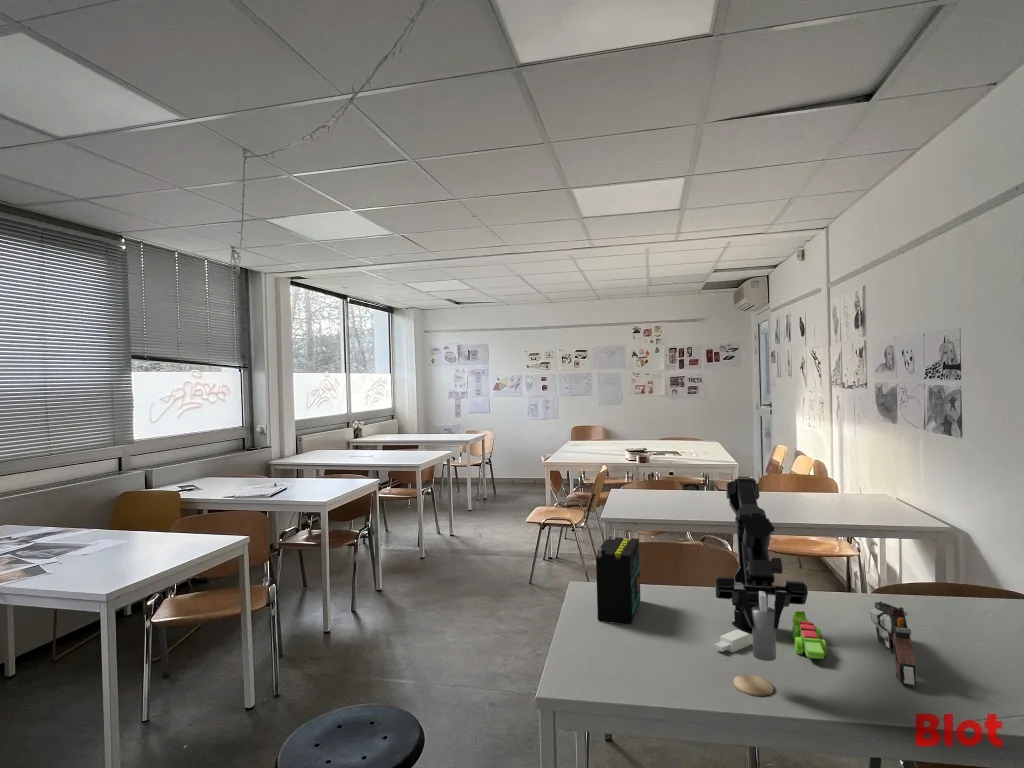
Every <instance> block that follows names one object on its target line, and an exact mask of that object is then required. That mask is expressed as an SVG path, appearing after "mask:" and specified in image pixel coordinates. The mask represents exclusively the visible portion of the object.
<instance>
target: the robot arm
mask: <svg viewBox="0 0 1024 768" xmlns="http://www.w3.org/2000/svg"><path fill="white" fill-rule="evenodd" d="M725 489H726V491H725V492H726V493H725V495H726V499H729V500H728V501H729V507H730V509H731V510H732V511H733V513H735V517H734V525H735V526H734V527H735V532H736V536H737V537H736V538H737V553H738V554H737V557H738V569H737V571H736V572H735V574H734V575H733V576H732V577H731V576H717V577H716V578H715V598H717V599H723V600H731V604H732V606H734V611H733V613H734V621H732V622H731V625H733V626H735V627H737V629H738V628H739V630H741V631H743V632H746V633H752V628H753V621H752V607H754V606H759V591H765V594H766V597H767V607H769V606H768V605H769V604H768V603H769V602H768V599H769V596H774V608H773V609H774V610H775V631H778V630H779V629H778V628H779V624H780V619H781V615H782V613H783V610H784V608H788V607H789V606H790V604H791V605H805V604H806V602H807V598H808V594H809V591H808V586H807V584H806V583H805V582H804V581H797V580H794V581H793V580H786V582H785V586H782V585H780V586H779V585H778V586H777V585H773V584H774V583H775V574H776V575H781V574H782V573H783V563H782V558H780V557H772V558H771V560H770V554H769V547H770V544H771V537H772V534H773V532H775V526H774V524H773V523H772V522H771V521H770V519H769V517H768V518H767V515H766V512H765V510H764V509H763V508H761V507H759V505H758V500H759V498H760V486H759V483H758V482H756V481H755V479H754V478H751V477H748V478H747V477H743V478H742V477H737V478H734V480H732V481H729V482H726V487H725Z"/></svg>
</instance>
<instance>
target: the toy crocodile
mask: <svg viewBox="0 0 1024 768" xmlns="http://www.w3.org/2000/svg"><path fill="white" fill-rule="evenodd" d="M822 634H823V633H822V629H821V627H819V626H818V627H817V626H815V624H814V623H813V622H812V621H809V620H808V619H807V616H806V612H805V610H803V611H801V610H800V611H799V610H797V611H794V612H793V617H792V639H793V641H794V649H795V653H796V654H799V655H803V654H804V653H805V656H806V657H807V659H817V660H824V659H825V657H826V656H827V653H828V650H827V647H828V646H827V642H826V640H825V639H823V636H822Z"/></svg>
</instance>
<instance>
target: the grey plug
mask: <svg viewBox="0 0 1024 768" xmlns="http://www.w3.org/2000/svg"><path fill="white" fill-rule="evenodd" d="M752 621H753V628H752V632H751V633H752V634H751V635H752V655H753V657H754V658H755V659H756V660H757V659H758V660H759V661H764V662H772V661H775V660H776V659H777V641H776V638H777V637H776V629H775V610H774V608H772V607H769V606H767V597H766V594H765V591H759V606H754V607H752Z"/></svg>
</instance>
